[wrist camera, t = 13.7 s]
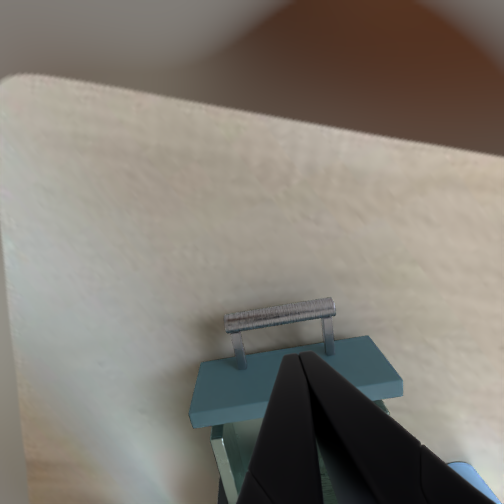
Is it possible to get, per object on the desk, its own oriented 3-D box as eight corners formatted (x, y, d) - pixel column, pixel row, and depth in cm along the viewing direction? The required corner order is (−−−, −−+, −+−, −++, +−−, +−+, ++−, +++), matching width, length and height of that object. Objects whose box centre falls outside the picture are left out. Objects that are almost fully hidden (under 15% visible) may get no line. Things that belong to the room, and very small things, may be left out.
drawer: (187, 313, 18) (169, 354, 14) (365, 282, 17) (403, 316, 13) (232, 479, 22) (229, 548, 18) (374, 458, 22) (404, 523, 18)
